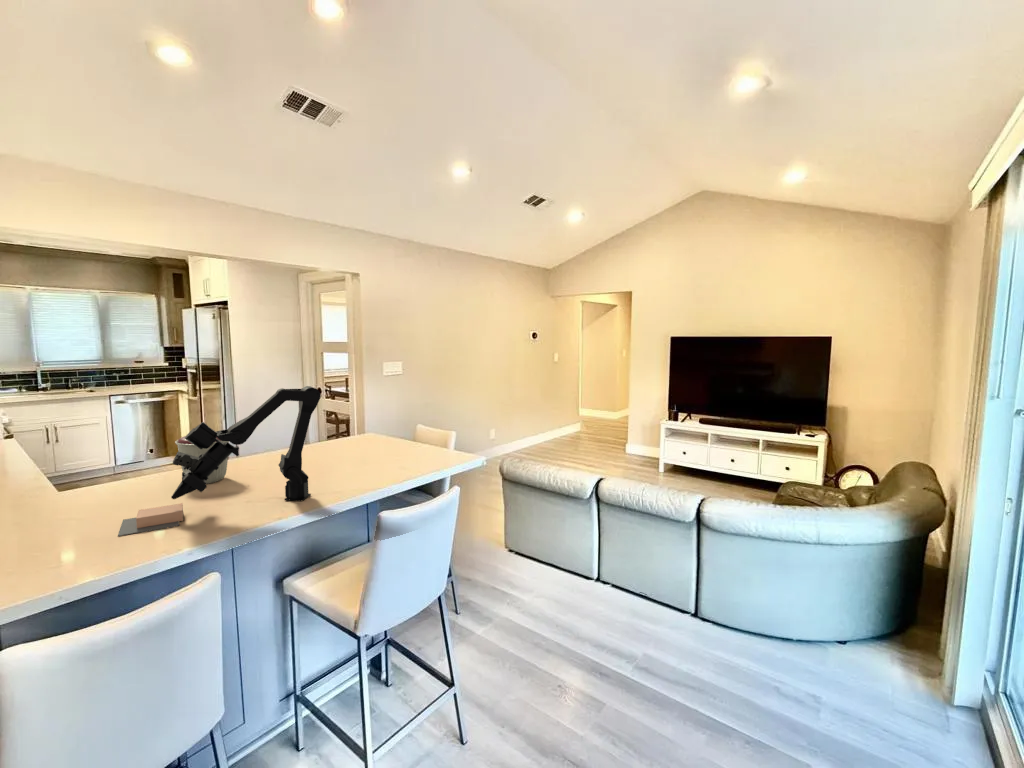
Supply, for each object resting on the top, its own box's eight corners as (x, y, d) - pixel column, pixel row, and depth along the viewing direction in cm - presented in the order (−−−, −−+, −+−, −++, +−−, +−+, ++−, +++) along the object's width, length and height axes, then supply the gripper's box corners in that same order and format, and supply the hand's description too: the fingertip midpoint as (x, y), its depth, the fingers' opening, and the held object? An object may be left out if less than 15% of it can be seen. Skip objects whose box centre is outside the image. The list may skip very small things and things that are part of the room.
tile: (182, 503, 149) (138, 509, 143) (182, 510, 142) (136, 518, 136) (183, 512, 149) (139, 520, 143) (183, 520, 143) (136, 528, 136)
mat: (179, 511, 151) (179, 510, 151) (179, 525, 140) (178, 524, 140) (123, 520, 143) (123, 519, 143) (117, 536, 132) (117, 535, 132)
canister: (214, 471, 195) (212, 421, 193) (243, 477, 188) (240, 425, 186) (167, 483, 179) (163, 429, 177) (196, 490, 171) (192, 433, 169)
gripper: (190, 437, 153) (149, 475, 148) (190, 448, 138) (145, 491, 133) (219, 457, 158) (181, 495, 153) (223, 470, 143) (181, 513, 138)
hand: (172, 498), depth 144 cm, fingers closed
